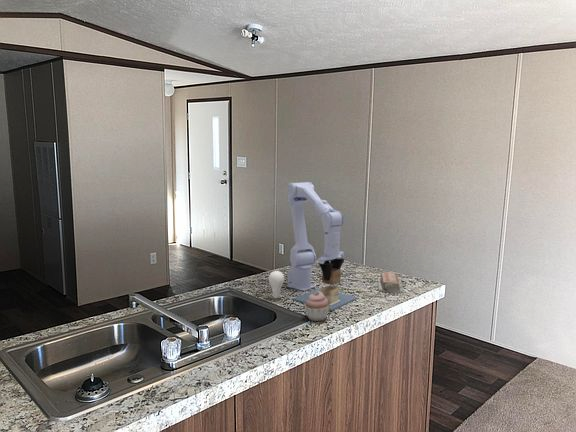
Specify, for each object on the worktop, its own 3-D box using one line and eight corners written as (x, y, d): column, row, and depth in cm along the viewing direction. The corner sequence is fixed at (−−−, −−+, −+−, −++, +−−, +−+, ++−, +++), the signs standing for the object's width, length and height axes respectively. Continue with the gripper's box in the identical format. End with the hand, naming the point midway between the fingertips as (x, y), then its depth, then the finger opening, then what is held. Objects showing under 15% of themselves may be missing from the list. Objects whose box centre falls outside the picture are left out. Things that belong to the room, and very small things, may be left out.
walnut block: (321, 282, 182) (322, 269, 181) (329, 279, 186) (329, 267, 185) (332, 285, 179) (333, 272, 178) (340, 282, 182) (340, 269, 182)
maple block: (320, 301, 182) (320, 288, 182) (327, 297, 186) (327, 285, 185) (330, 304, 179) (331, 291, 178) (338, 300, 183) (338, 288, 182)
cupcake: (298, 318, 167) (298, 290, 165) (314, 311, 174) (315, 284, 172) (319, 325, 161) (320, 297, 159) (335, 317, 167) (336, 290, 166)
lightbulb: (274, 294, 191) (275, 268, 189) (287, 298, 187) (287, 270, 186) (265, 298, 186) (265, 271, 184) (277, 302, 182) (278, 274, 181)
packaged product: (404, 282, 195) (379, 281, 196) (403, 294, 196) (379, 292, 197) (400, 270, 212) (377, 269, 214) (400, 281, 213) (377, 280, 215)
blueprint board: (293, 300, 185) (293, 298, 185) (320, 289, 199) (320, 287, 199) (331, 311, 174) (331, 309, 174) (357, 298, 188) (357, 297, 187)
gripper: (330, 248, 172) (328, 284, 174) (351, 242, 183) (350, 276, 185) (314, 245, 176) (313, 281, 178) (335, 239, 187) (334, 272, 189)
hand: (330, 278), depth 182 cm, fingers closed on walnut block, 5 cm apart
